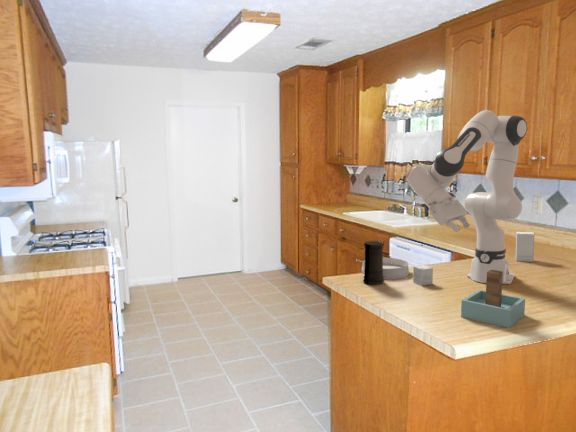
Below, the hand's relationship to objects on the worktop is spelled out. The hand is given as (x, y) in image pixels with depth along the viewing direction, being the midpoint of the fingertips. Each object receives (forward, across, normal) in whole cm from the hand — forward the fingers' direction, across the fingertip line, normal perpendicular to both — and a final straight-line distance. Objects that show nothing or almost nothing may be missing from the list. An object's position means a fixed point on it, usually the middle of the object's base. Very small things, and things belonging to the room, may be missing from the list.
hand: (463, 228), depth 168 cm
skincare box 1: (+4, +17, +37) cm, 41 cm away
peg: (+30, -4, +11) cm, 32 cm away
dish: (-11, +23, +53) cm, 59 cm away
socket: (+30, -5, +11) cm, 32 cm away
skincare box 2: (+20, +88, +22) cm, 93 cm away
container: (-8, +5, +50) cm, 50 cm away
